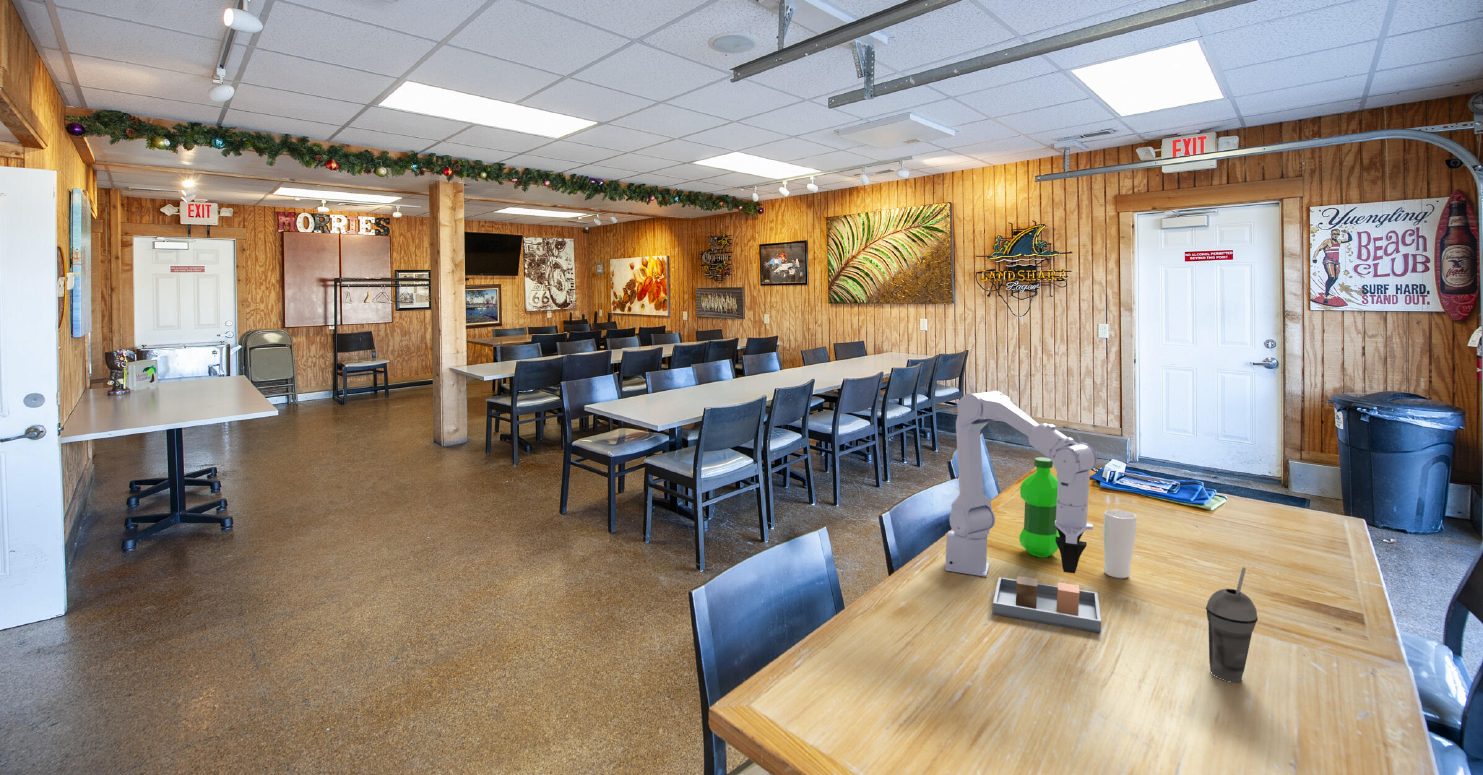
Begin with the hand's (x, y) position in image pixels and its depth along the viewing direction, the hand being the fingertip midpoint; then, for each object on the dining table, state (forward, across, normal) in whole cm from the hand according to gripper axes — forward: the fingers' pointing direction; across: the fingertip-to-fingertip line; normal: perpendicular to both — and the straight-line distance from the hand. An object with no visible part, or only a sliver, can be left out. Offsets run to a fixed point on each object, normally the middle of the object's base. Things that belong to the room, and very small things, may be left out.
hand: (1068, 565), depth 138 cm
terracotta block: (+10, 0, 0) cm, 10 cm away
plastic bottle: (+11, +32, +6) cm, 35 cm away
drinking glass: (+11, +26, -11) cm, 30 cm away
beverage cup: (+11, -14, -25) cm, 31 cm away
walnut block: (+10, 0, +8) cm, 13 cm away
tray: (+10, 0, +4) cm, 11 cm away
